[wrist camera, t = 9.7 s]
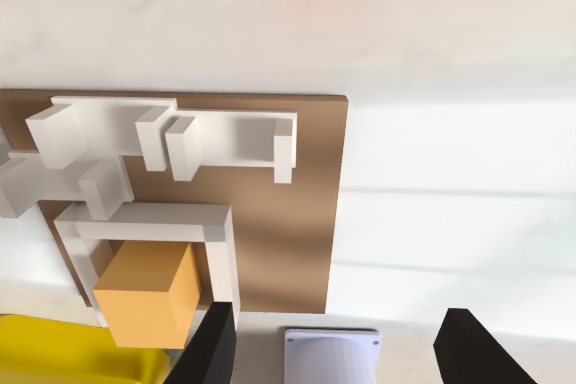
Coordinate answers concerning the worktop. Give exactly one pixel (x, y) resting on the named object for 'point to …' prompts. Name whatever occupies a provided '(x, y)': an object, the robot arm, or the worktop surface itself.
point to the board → (235, 196)
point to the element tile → (72, 355)
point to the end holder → (151, 226)
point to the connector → (150, 294)
